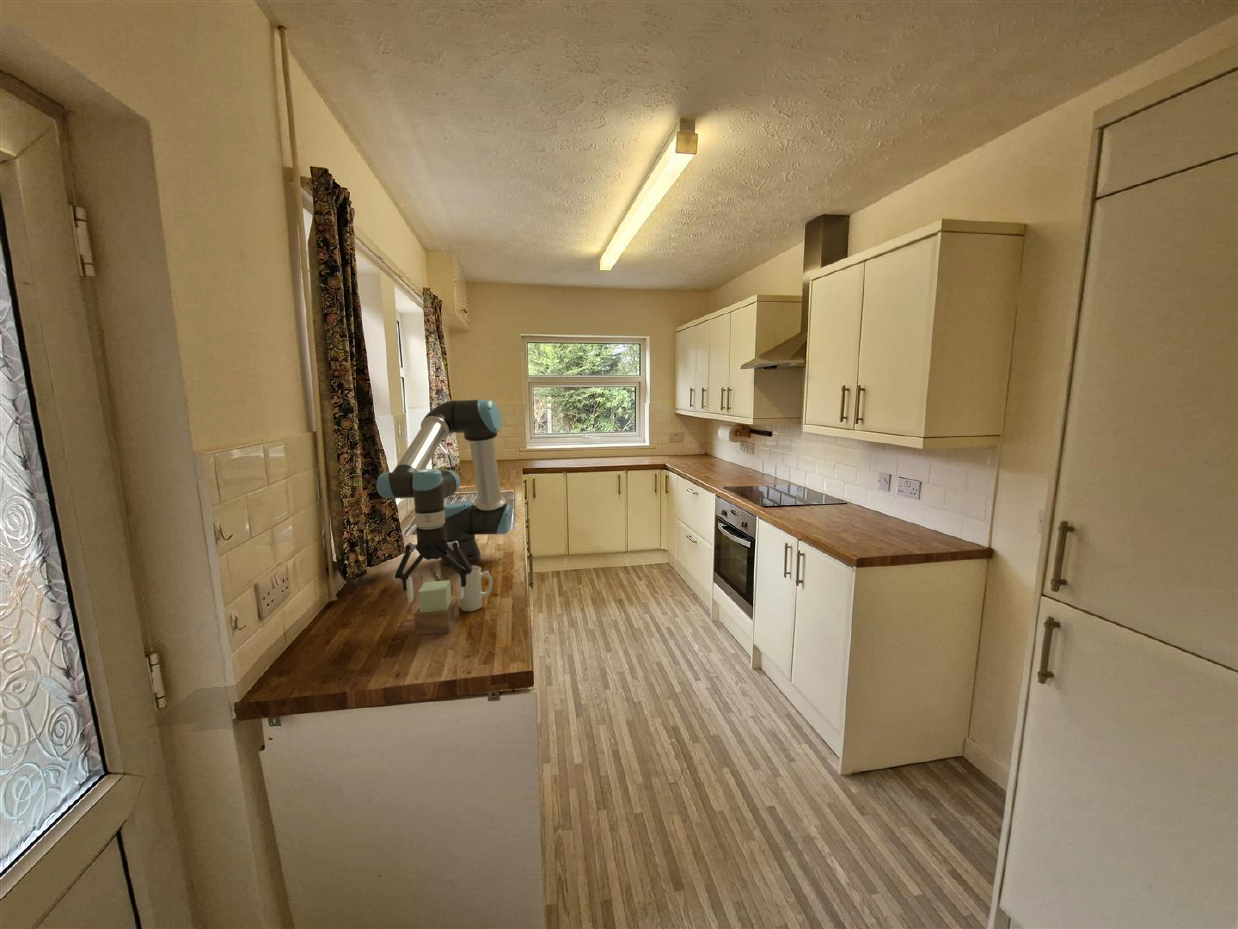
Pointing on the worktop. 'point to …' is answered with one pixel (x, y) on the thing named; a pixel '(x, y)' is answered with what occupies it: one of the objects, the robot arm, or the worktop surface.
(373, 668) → the worktop surface
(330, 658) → the worktop surface
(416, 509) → the robot arm
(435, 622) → the base brick
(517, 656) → the worktop surface
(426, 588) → the sage brick
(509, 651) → the worktop surface
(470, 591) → the mug
